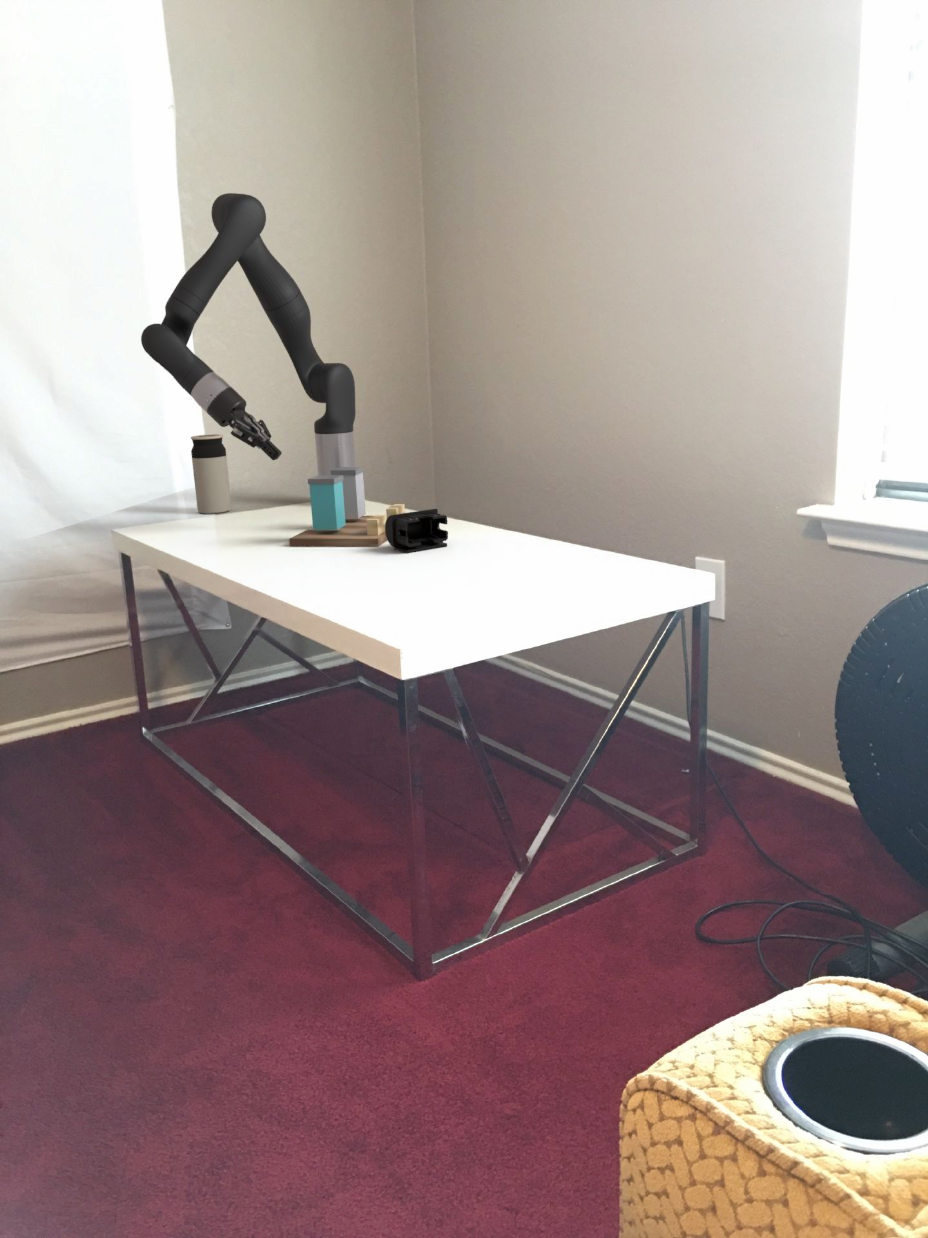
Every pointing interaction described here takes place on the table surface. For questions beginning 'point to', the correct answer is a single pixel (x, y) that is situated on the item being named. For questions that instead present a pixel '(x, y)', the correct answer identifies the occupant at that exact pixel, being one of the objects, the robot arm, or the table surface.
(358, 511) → the grey key
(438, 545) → the end cap
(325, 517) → the teal key
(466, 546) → the table surface
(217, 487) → the travel mug
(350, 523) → the key base
